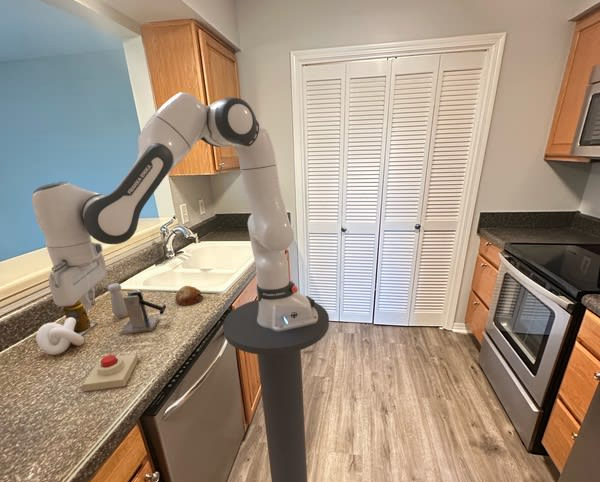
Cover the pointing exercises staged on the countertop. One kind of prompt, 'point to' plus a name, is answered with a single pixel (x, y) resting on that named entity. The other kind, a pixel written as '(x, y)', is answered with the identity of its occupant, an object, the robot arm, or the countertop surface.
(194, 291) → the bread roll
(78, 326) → the condiment
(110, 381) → the button block
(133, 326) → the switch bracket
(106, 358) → the button
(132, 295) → the switch
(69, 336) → the white knot
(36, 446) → the countertop surface
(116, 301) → the salt shaker
